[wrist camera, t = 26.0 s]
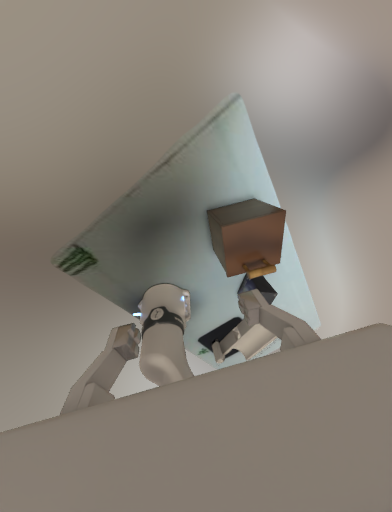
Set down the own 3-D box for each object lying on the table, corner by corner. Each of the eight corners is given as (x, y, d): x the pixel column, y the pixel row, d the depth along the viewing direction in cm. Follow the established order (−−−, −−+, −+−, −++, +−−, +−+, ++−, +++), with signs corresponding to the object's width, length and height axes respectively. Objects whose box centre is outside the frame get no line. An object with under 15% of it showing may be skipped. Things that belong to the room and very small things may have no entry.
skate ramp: (243, 349, 84) (252, 370, 76) (211, 342, 75) (216, 365, 67) (276, 321, 75) (290, 341, 67) (243, 310, 66) (255, 331, 58)
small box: (246, 271, 55) (261, 292, 46) (261, 273, 57) (279, 293, 48) (236, 293, 60) (248, 315, 51) (250, 294, 62) (265, 315, 53)
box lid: (278, 261, 39) (291, 273, 34) (226, 275, 38) (233, 289, 34) (283, 209, 31) (301, 216, 27) (220, 226, 31) (228, 235, 27)
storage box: (254, 238, 49) (278, 259, 38) (213, 249, 48) (226, 273, 38) (254, 198, 42) (283, 209, 31) (206, 210, 41) (220, 225, 31)
